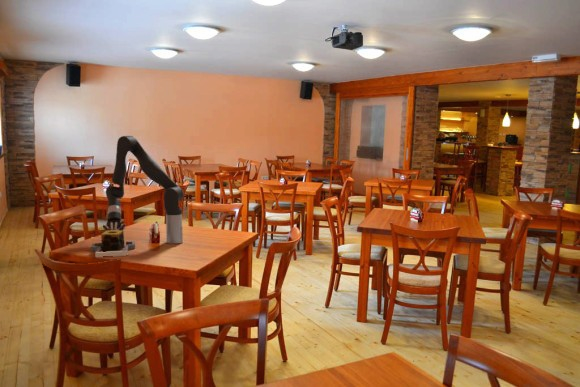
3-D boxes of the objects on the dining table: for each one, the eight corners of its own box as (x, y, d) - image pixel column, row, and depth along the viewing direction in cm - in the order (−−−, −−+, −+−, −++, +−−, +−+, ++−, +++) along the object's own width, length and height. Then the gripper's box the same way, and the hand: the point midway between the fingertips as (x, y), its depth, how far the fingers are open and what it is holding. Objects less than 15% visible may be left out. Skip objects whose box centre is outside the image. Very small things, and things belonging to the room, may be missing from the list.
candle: (119, 252, 269) (118, 234, 267) (101, 251, 268) (100, 234, 267) (125, 247, 279) (124, 230, 277) (107, 247, 278) (106, 230, 277)
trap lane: (135, 245, 284) (135, 240, 283) (134, 255, 262) (134, 250, 262) (92, 247, 277) (92, 243, 277) (88, 257, 256) (88, 253, 256)
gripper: (101, 211, 283) (100, 236, 274) (125, 210, 287) (125, 235, 277) (103, 218, 289) (102, 243, 279) (126, 217, 293) (126, 242, 283)
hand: (113, 239), depth 278 cm, fingers closed
